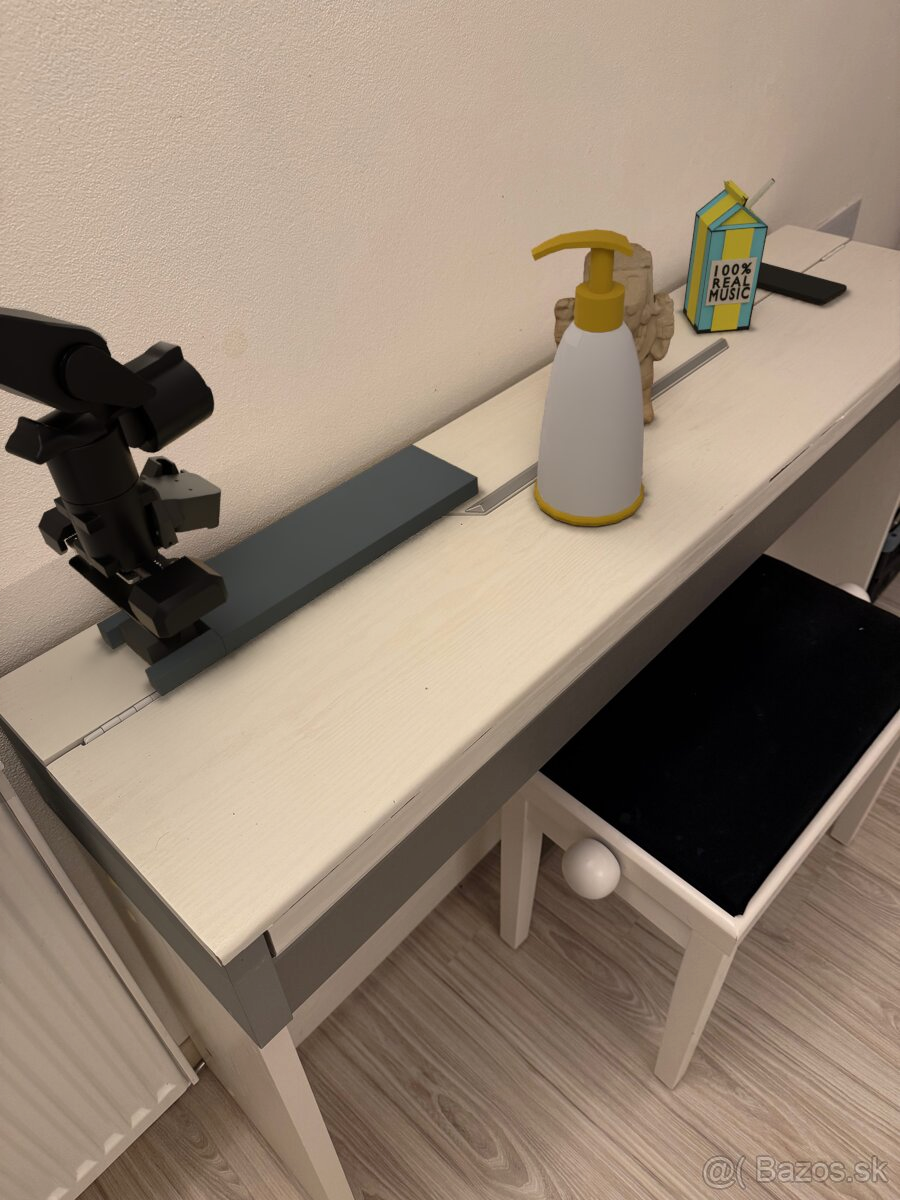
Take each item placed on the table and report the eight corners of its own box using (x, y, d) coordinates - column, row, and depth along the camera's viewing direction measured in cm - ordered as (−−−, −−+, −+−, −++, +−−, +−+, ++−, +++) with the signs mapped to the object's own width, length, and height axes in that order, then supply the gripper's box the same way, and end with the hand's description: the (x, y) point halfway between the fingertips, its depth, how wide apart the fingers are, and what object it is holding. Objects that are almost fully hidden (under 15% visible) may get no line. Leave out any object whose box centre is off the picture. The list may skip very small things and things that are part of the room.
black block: (127, 644, 75) (118, 624, 73) (171, 617, 77) (163, 597, 76) (155, 669, 73) (146, 648, 71) (199, 640, 75) (192, 619, 73)
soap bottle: (525, 469, 93) (525, 216, 75) (633, 462, 92) (658, 207, 75) (535, 533, 84) (538, 265, 67) (653, 526, 84) (687, 255, 67)
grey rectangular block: (162, 696, 71) (155, 680, 70) (103, 639, 77) (95, 623, 75) (478, 492, 90) (477, 477, 89) (413, 459, 95) (411, 443, 94)
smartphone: (755, 259, 129) (849, 285, 120) (754, 265, 130) (847, 291, 121) (728, 273, 126) (823, 300, 117) (727, 279, 126) (822, 306, 118)
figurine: (554, 441, 97) (559, 262, 83) (548, 408, 102) (552, 235, 89) (669, 434, 96) (693, 254, 83) (657, 402, 101) (677, 227, 88)
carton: (756, 329, 114) (784, 184, 102) (697, 334, 114) (718, 190, 102) (738, 306, 120) (762, 166, 107) (682, 311, 119) (700, 171, 107)
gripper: (262, 479, 63) (299, 631, 73) (128, 401, 73) (177, 545, 83) (128, 553, 57) (189, 707, 68) (3, 457, 67) (73, 605, 78)
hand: (158, 633), depth 74 cm, fingers closed on black block, 4 cm apart
